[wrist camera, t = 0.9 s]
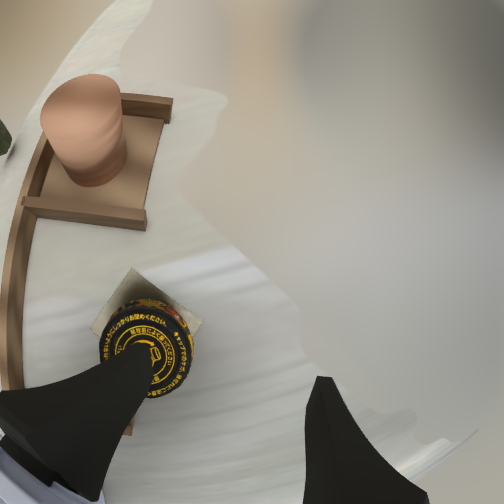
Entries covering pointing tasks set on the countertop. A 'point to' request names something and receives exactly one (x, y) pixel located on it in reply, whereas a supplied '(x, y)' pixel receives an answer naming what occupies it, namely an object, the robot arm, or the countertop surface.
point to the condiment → (149, 330)
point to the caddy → (79, 183)
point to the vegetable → (4, 139)
